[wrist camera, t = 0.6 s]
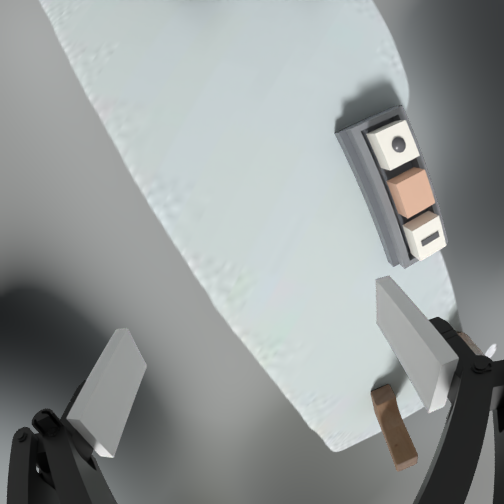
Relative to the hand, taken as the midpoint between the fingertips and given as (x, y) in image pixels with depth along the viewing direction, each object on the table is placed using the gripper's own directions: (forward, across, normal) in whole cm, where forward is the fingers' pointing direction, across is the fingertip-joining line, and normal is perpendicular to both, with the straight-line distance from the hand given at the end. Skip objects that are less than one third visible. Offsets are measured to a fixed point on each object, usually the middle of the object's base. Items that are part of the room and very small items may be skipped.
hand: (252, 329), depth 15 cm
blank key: (+26, +22, -1) cm, 34 cm away
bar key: (+26, +24, -8) cm, 36 cm away
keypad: (+29, +22, -1) cm, 37 cm away
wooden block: (+29, +19, -47) cm, 59 cm away
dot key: (+26, +20, +5) cm, 33 cm away
